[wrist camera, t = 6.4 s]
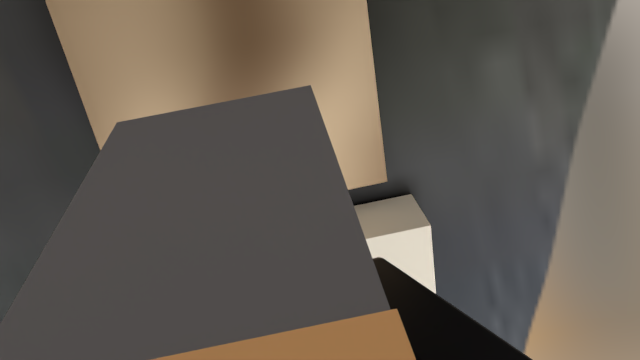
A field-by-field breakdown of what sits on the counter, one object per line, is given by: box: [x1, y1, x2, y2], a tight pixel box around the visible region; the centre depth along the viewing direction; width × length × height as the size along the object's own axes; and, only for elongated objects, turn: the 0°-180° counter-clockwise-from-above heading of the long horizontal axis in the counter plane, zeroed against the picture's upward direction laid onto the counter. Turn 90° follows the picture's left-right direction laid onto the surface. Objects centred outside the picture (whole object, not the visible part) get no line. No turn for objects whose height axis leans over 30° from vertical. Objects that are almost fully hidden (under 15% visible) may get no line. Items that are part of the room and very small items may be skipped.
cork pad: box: [45, 0, 387, 190], centre depth 20 cm, size 10×10×1 cm
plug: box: [0, 85, 416, 360], centre depth 9 cm, size 4×4×8 cm
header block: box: [354, 194, 436, 294], centre depth 23 cm, size 12×10×3 cm
